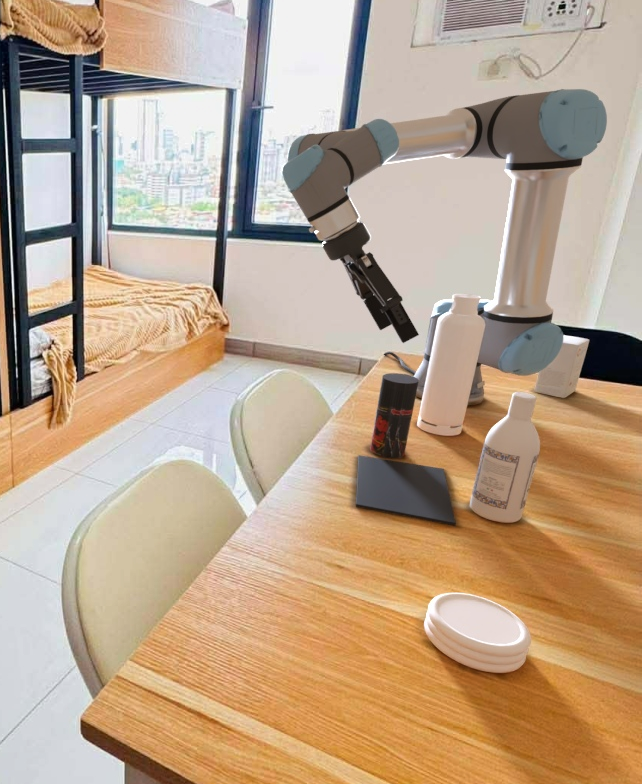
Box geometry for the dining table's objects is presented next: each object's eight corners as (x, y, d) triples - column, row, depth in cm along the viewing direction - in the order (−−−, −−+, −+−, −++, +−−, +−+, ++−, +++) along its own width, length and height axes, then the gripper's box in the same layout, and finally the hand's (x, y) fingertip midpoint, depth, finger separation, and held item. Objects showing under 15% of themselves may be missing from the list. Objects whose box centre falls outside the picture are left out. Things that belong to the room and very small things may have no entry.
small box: (544, 384, 156) (558, 333, 151) (575, 391, 151) (590, 339, 146) (532, 391, 151) (546, 339, 147) (564, 398, 146) (579, 345, 142)
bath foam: (502, 501, 103) (531, 387, 96) (531, 524, 96) (565, 403, 90) (459, 501, 103) (486, 387, 96) (486, 524, 96) (517, 403, 90)
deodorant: (408, 459, 118) (423, 384, 113) (374, 457, 119) (387, 382, 114) (399, 446, 123) (412, 374, 118) (366, 444, 124) (378, 372, 119)
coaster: (540, 651, 72) (548, 626, 70) (498, 689, 66) (506, 663, 65) (449, 603, 79) (455, 580, 78) (406, 634, 74) (411, 610, 73)
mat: (358, 457, 119) (358, 455, 119) (443, 471, 113) (443, 468, 113) (355, 506, 102) (356, 504, 102) (455, 525, 96) (456, 523, 96)
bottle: (464, 438, 126) (496, 301, 117) (419, 432, 129) (446, 298, 120) (457, 423, 134) (486, 293, 124) (414, 418, 136) (439, 290, 127)
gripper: (308, 241, 124) (360, 331, 126) (335, 245, 100) (399, 356, 103) (344, 219, 122) (397, 311, 124) (381, 218, 98) (445, 332, 100)
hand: (398, 332), depth 113 cm, fingers open, 13 cm apart
